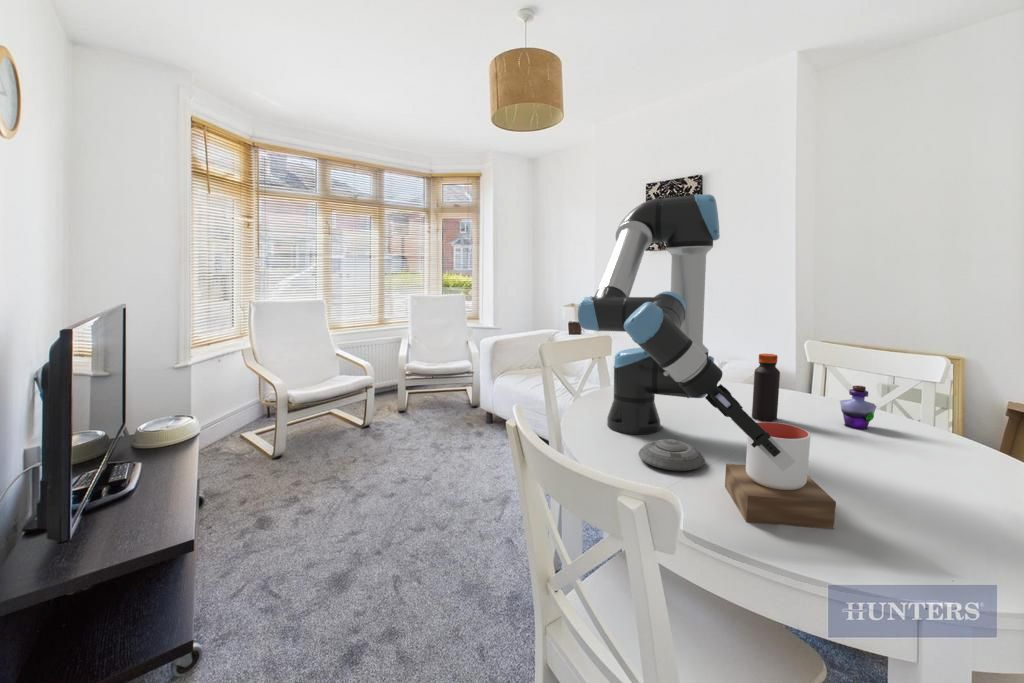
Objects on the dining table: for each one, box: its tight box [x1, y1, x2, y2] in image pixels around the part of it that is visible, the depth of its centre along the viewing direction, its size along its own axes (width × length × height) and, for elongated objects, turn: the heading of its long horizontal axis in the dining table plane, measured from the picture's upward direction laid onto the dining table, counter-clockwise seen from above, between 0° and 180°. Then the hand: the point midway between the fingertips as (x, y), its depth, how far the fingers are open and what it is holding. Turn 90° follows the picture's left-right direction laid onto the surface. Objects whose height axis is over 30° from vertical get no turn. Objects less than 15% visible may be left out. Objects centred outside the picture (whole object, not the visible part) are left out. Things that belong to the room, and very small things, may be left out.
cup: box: [745, 421, 811, 490], centre depth 84 cm, size 10×10×10 cm
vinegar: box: [751, 353, 781, 422], centre depth 136 cm, size 7×7×20 cm
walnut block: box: [724, 463, 837, 530], centre depth 85 cm, size 14×14×5 cm
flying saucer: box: [638, 438, 706, 472], centre depth 106 cm, size 15×15×6 cm
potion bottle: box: [839, 385, 877, 431], centre depth 128 cm, size 9×9×12 cm
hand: (773, 451), depth 84 cm, fingers open, 13 cm apart
